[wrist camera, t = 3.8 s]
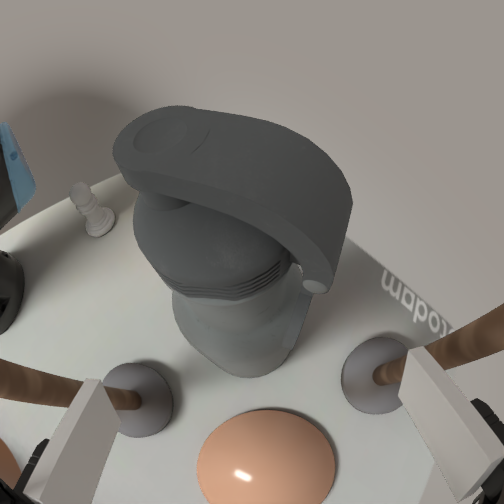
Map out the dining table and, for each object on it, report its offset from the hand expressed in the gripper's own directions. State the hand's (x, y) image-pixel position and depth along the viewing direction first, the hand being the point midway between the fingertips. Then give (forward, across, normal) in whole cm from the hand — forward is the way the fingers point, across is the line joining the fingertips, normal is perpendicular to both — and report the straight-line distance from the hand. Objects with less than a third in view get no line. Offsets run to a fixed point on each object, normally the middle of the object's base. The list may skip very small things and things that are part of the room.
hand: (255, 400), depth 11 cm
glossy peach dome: (+9, 0, -21) cm, 23 cm away
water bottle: (+21, -1, -10) cm, 23 cm away
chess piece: (+34, -22, +3) cm, 41 cm away
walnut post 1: (+16, -15, -15) cm, 26 cm away
